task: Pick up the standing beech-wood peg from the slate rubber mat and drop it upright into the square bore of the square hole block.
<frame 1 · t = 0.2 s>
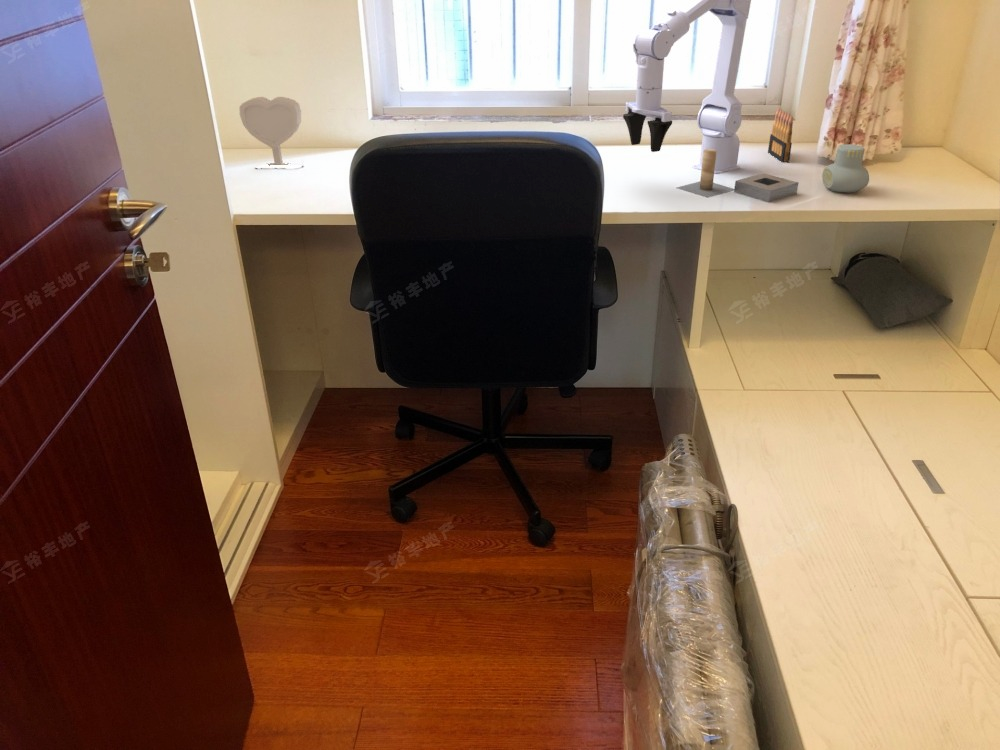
hand: (645, 147, 186), 10 cm above the table, tool pointing down, fingers open, 7 cm apart
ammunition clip: (778, 158, 214), on the table
mat: (705, 189, 190), on the table
heart sculpture: (279, 167, 217), on the table
peg: (705, 188, 190), resting on mat
air freshener: (842, 190, 188), on the table
square hole block: (764, 194, 186), on the table
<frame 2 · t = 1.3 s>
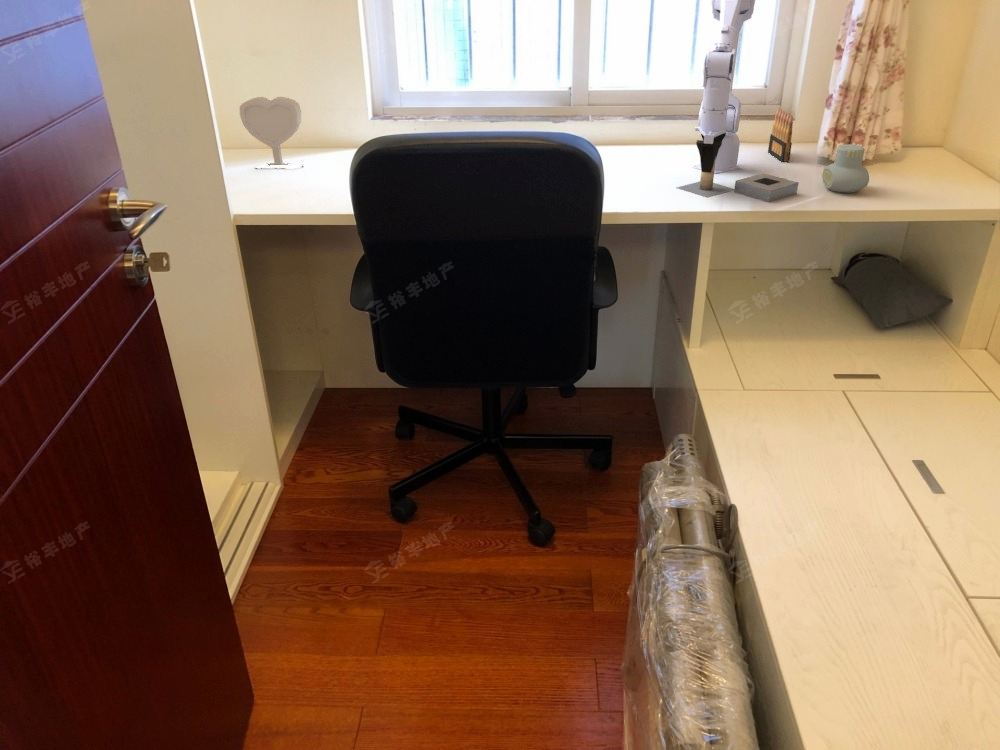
hand: (708, 167, 187), 5 cm above the table, tool pointing down, fingers open, 7 cm apart
nothing on the table moved.
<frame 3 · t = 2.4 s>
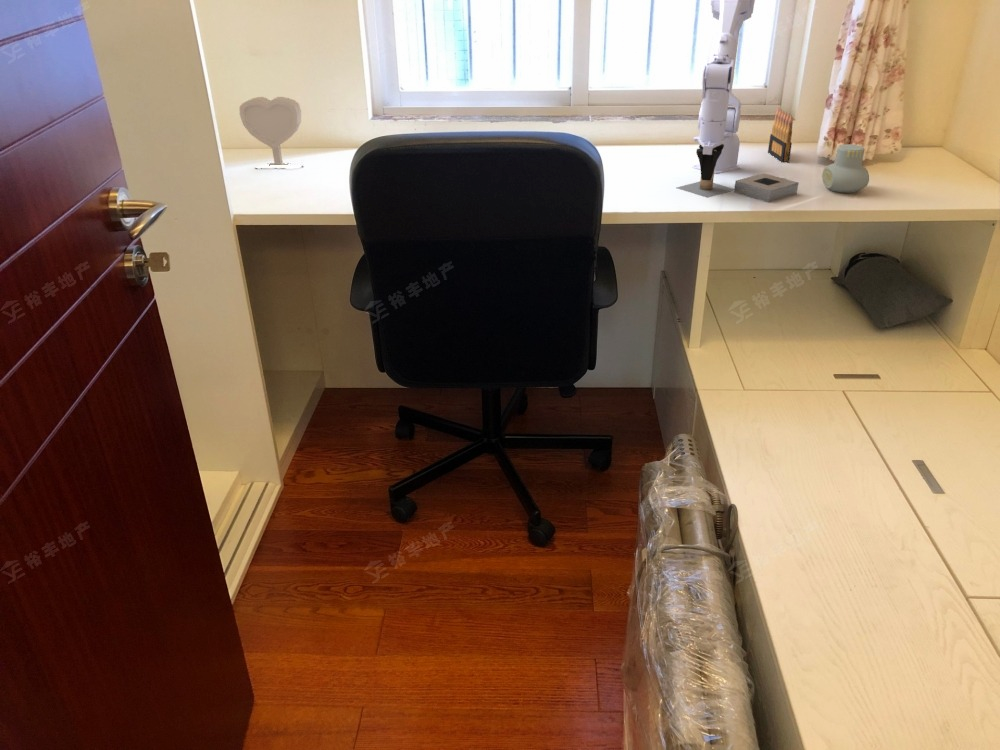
hand: (707, 177, 188), 3 cm above the table, tool pointing down, fingers closed on peg, 3 cm apart
peg: (705, 188, 190), resting on mat, touching gripper
everything else where it was.
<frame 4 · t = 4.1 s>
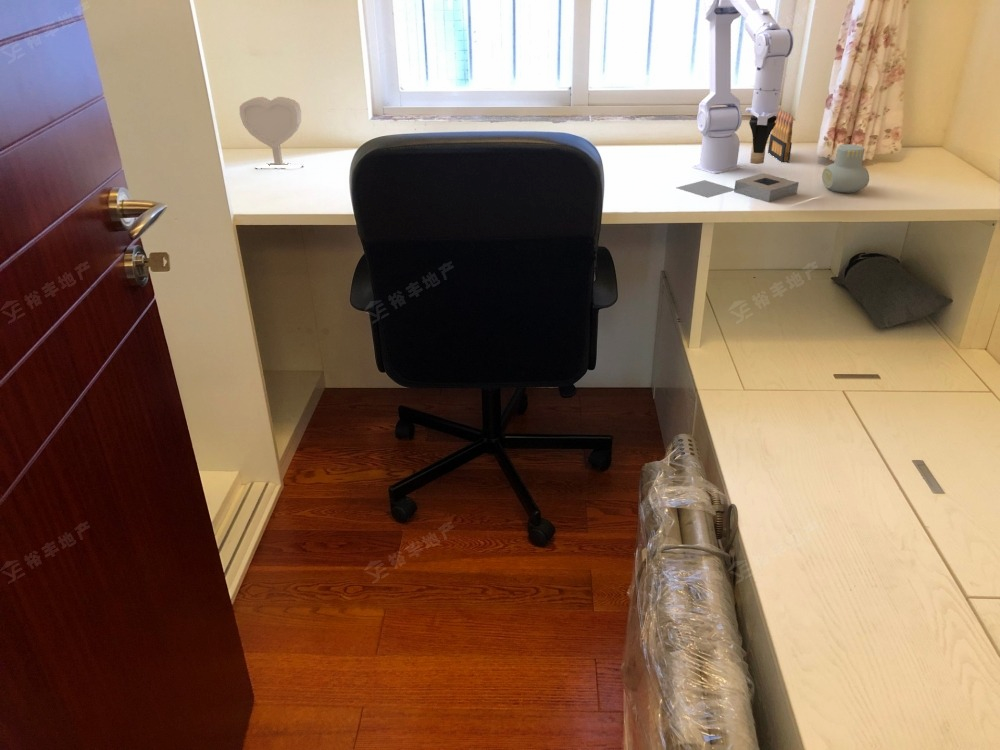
hand: (758, 150, 182), 10 cm above the table, tool pointing down, fingers closed on peg, 3 cm apart
peg: (757, 162, 183), point 7 cm above the table, touching gripper
everything else where it was.
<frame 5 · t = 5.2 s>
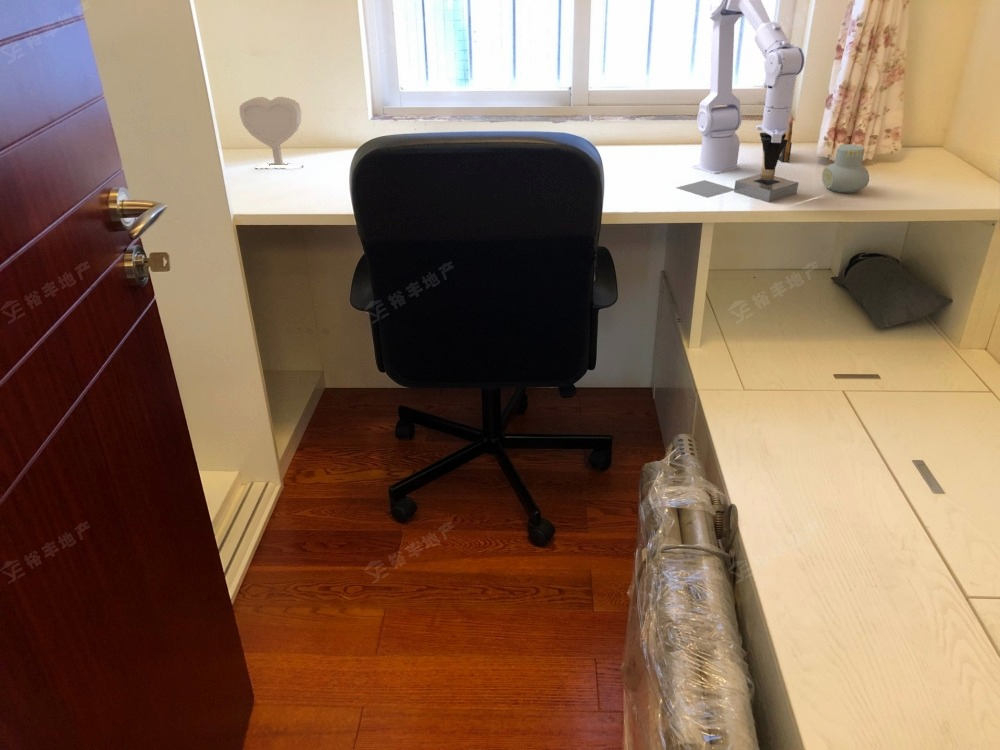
hand: (769, 167, 183), 6 cm above the table, tool pointing down, fingers closed on peg, 3 cm apart
peg: (767, 178, 184), point 4 cm above the table, touching gripper
everything else where it was.
when the fingers open (4 cm above the table, at t = 6.1 s): peg drops 1 cm, resting in square hole block.
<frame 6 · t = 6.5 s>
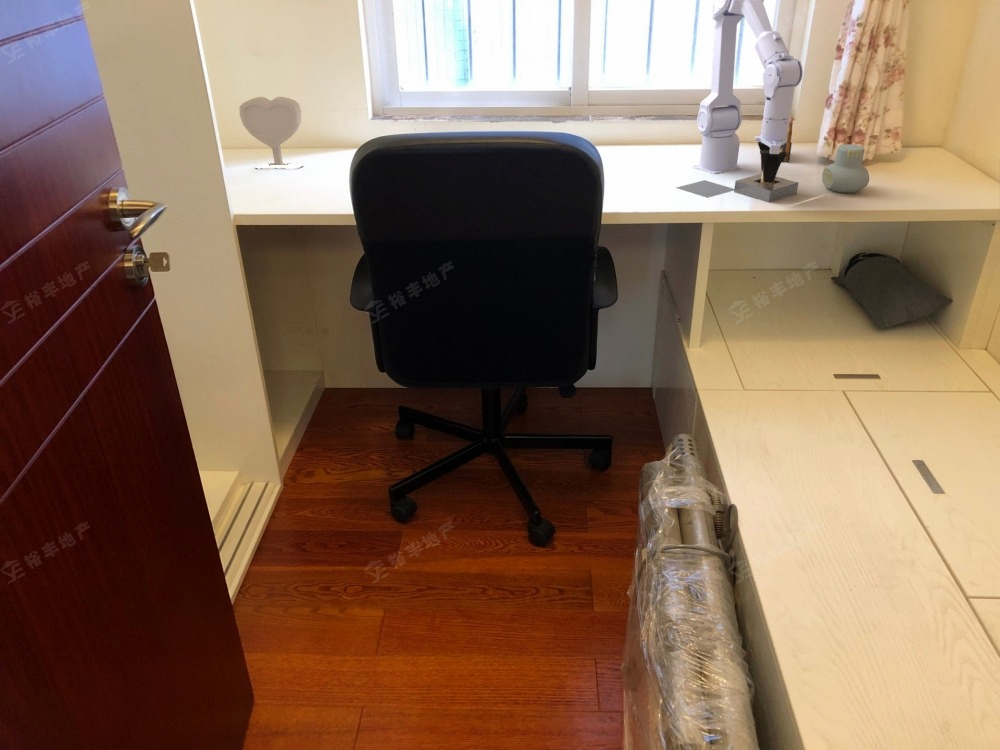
hand: (767, 177, 184), 4 cm above the table, tool pointing down, fingers open, 7 cm apart
peg: (764, 193, 186), resting in square hole block
everything else where it was.
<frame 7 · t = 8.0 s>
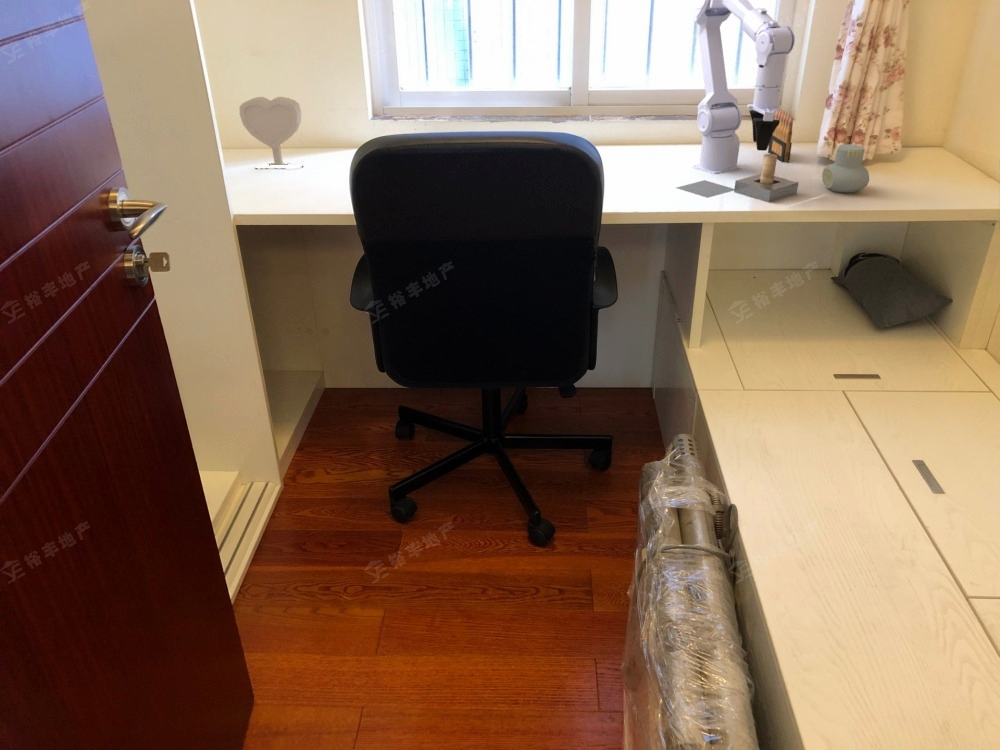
hand: (759, 145, 186), 10 cm above the table, tool pointing down, fingers open, 7 cm apart
nothing on the table moved.
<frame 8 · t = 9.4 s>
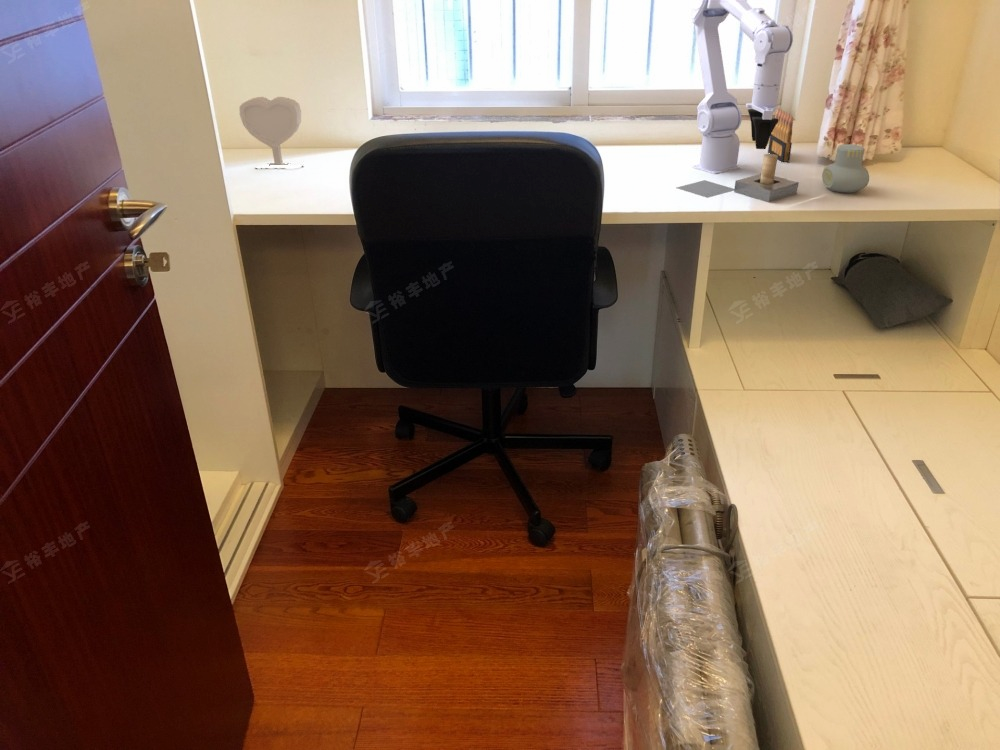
hand: (758, 144, 187), 10 cm above the table, tool pointing down, fingers open, 7 cm apart
nothing on the table moved.
at the end: peg 0.0 cm off-centre on the square hole block, point 0.0 cm above the square hole block's base; peg tilted 1°; the gripper is holding nothing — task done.
